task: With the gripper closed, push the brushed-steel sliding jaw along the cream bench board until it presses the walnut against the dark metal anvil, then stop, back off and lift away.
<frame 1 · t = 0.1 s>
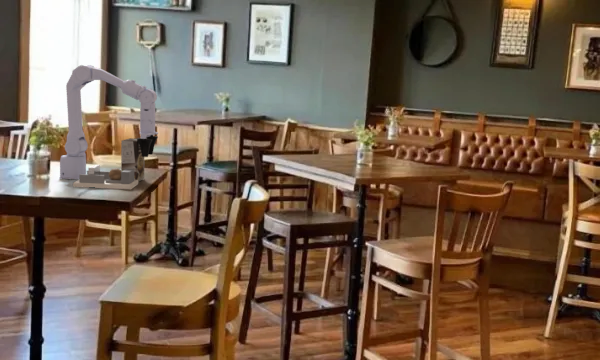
hand: (147, 155, 295), 10 cm above the table, tool pointing down, fingers open, 7 cm apart
jaw: (94, 171, 282), point 5 cm above the table, slide at 0.0 cm
coffee box: (133, 180, 297), on the table, touching gripper
press board: (106, 185, 283), on the table
walnut: (115, 174, 282), point 4 cm above the table, touching press board
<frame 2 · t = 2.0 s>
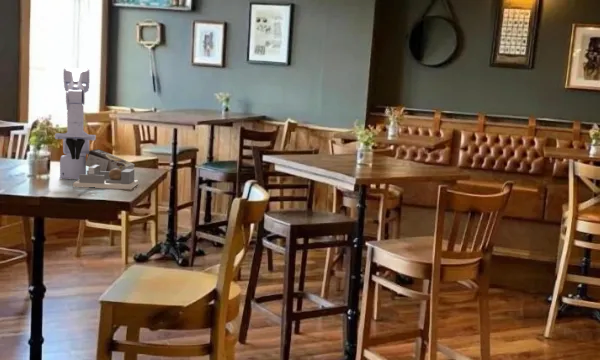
hand: (75, 159, 282), 9 cm above the table, tool pointing down, fingers closed
coffee box: (129, 172, 297), point 3 cm above the table, touching arm
everything else where it was.
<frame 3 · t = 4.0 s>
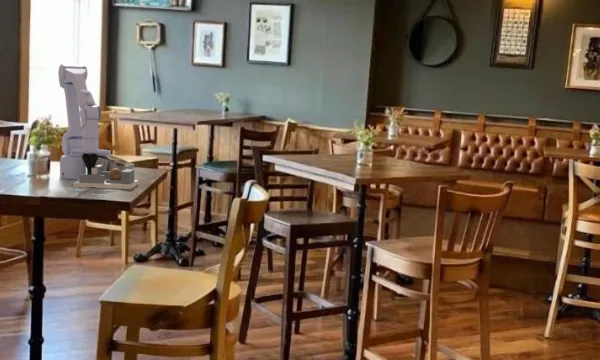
hand: (90, 174, 282), 4 cm above the table, tool pointing down, fingers closed
jaw: (97, 171, 282), point 5 cm above the table, slide at 1.1 cm, touching gripper
everything else where it was.
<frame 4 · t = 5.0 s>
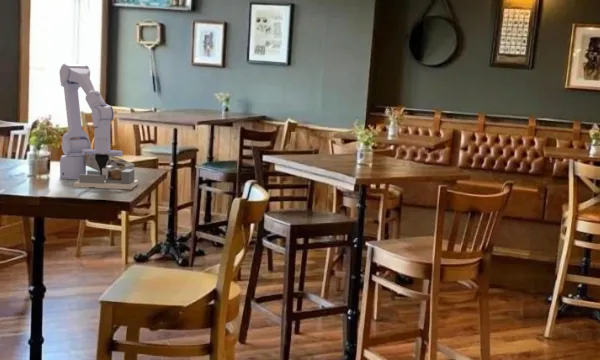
hand: (102, 174, 282), 4 cm above the table, tool pointing down, fingers closed
jaw: (107, 172, 282), point 5 cm above the table, slide at 5.0 cm, touching gripper, walnut
walnut: (117, 174, 282), point 4 cm above the table, touching jaw, press board
everything else where it was.
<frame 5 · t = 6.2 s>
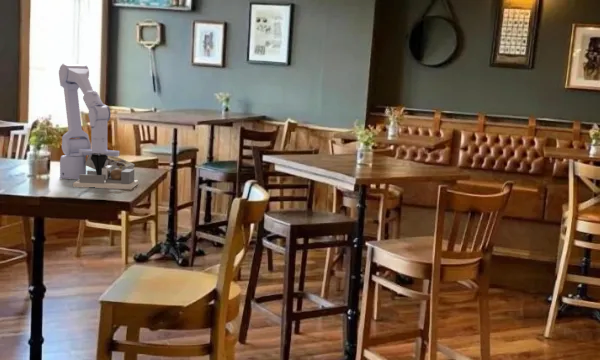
hand: (99, 174, 282), 4 cm above the table, tool pointing down, fingers closed
jaw: (107, 172, 282), point 5 cm above the table, slide at 4.9 cm
walnut: (117, 174, 282), point 4 cm above the table, touching press board
everything else where it was.
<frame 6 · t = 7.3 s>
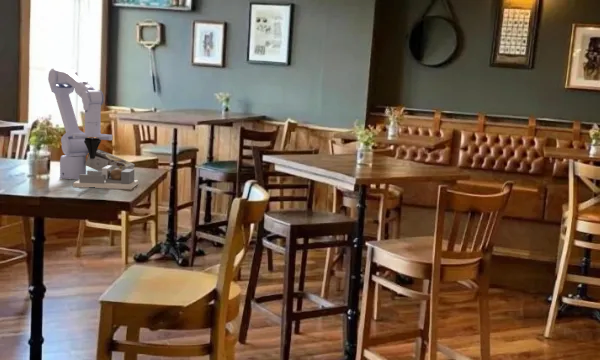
hand: (92, 158, 286), 9 cm above the table, tool pointing down, fingers closed
nothing on the table moved.
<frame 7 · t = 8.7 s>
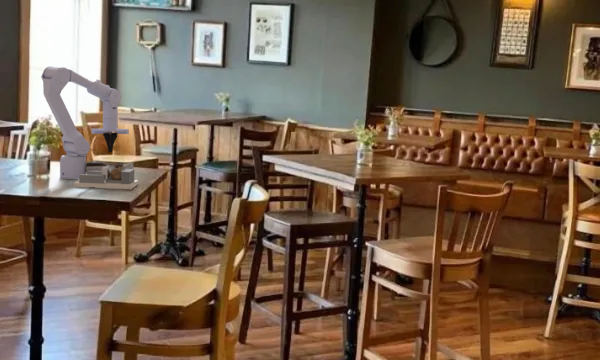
hand: (110, 151, 307), 9 cm above the table, tool pointing down, fingers closed
coffee box: (130, 171, 297), point 3 cm above the table
everything else where it was.
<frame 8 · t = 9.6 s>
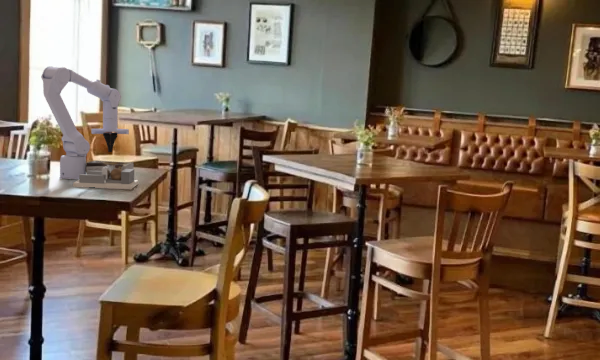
hand: (110, 151, 307), 9 cm above the table, tool pointing down, fingers closed
nothing on the table moved.
at the end: jaw slide at 4.9 cm; walnut 0.4 cm from the target spot, point 4.1 cm above the table; walnut moved 0.5 cm from its start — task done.
